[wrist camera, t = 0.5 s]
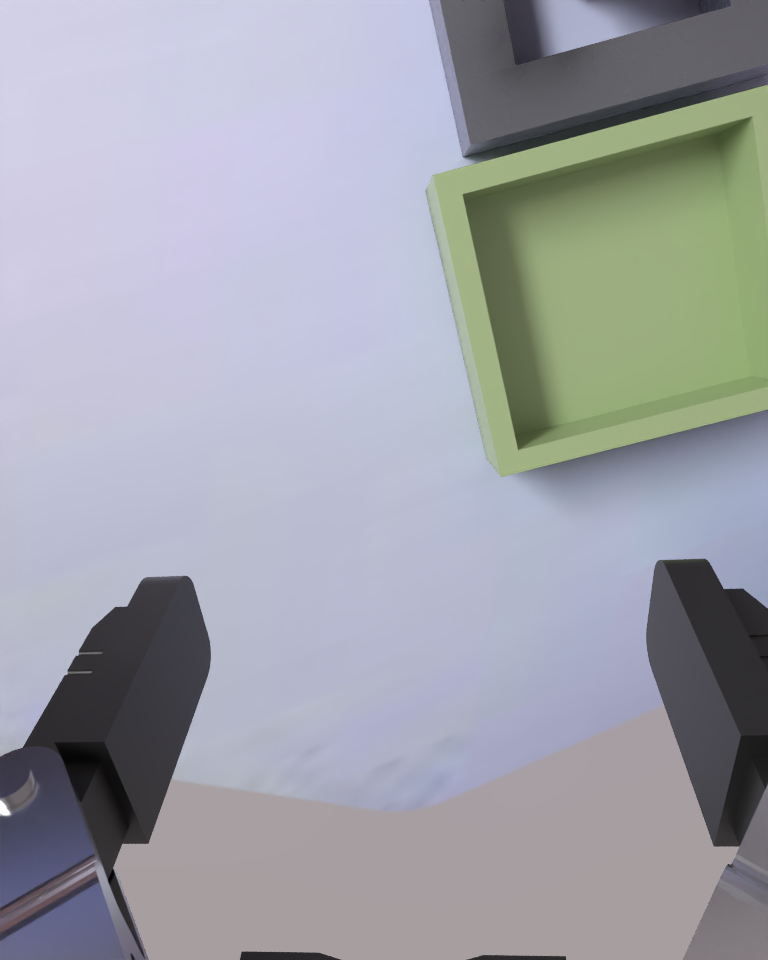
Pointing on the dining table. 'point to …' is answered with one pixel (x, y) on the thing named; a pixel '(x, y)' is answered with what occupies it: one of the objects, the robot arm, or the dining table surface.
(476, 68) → the square frame
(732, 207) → the tray
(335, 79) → the dining table surface
